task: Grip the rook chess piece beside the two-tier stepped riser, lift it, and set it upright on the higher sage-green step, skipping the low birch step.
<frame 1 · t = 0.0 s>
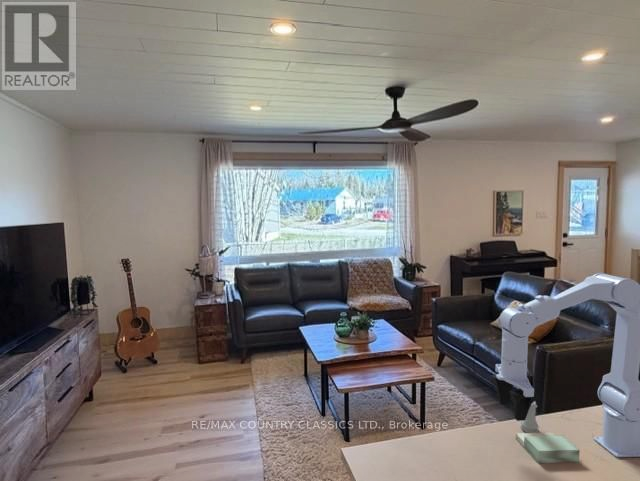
hand: (512, 411, 99), 10 cm above the kitchen island, tool pointing down, fingers open, 7 cm apart
rook chess piece: (529, 430, 110), on the kitchen island
stepped riser: (545, 449, 101), on the kitchen island
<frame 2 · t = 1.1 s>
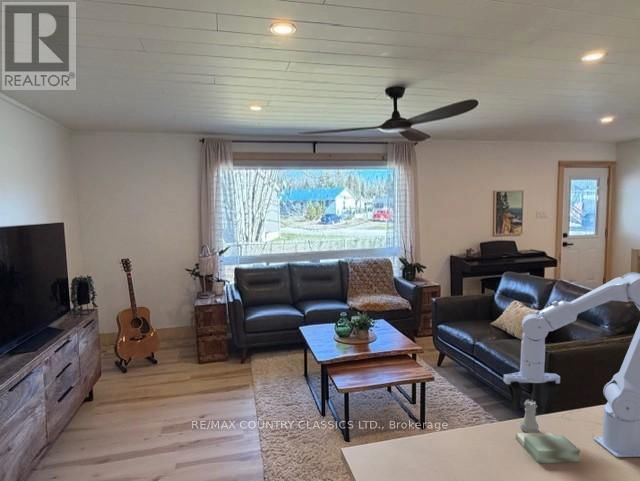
hand: (530, 408, 109), 6 cm above the kitchen island, tool pointing down, fingers open, 7 cm apart
nothing on the kitchen island moved.
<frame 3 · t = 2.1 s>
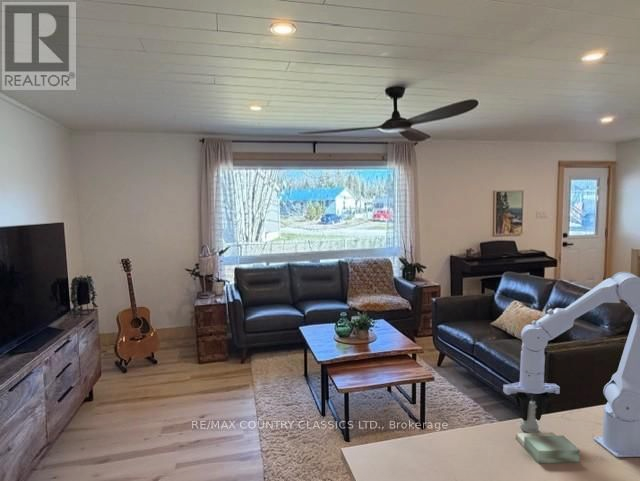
hand: (530, 418, 109), 3 cm above the kitchen island, tool pointing down, fingers closed on rook chess piece, 3 cm apart
rook chess piece: (529, 430, 110), on the kitchen island, touching gripper
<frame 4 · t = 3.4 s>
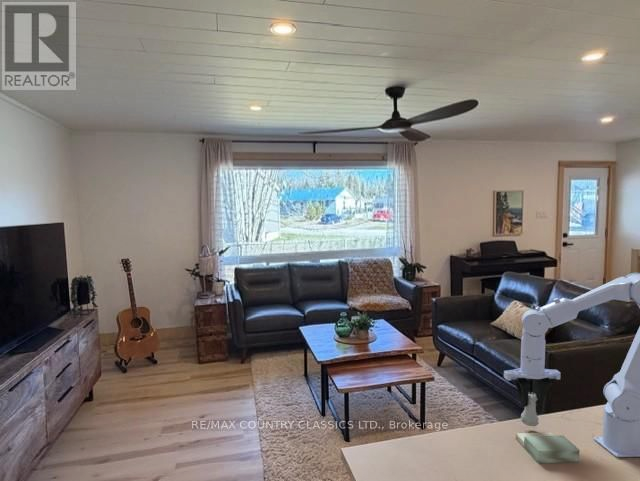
hand: (530, 404, 109), 7 cm above the kitchen island, tool pointing down, fingers closed on rook chess piece, 3 cm apart
rook chess piece: (529, 423, 109), point 2 cm above the kitchen island, touching gripper
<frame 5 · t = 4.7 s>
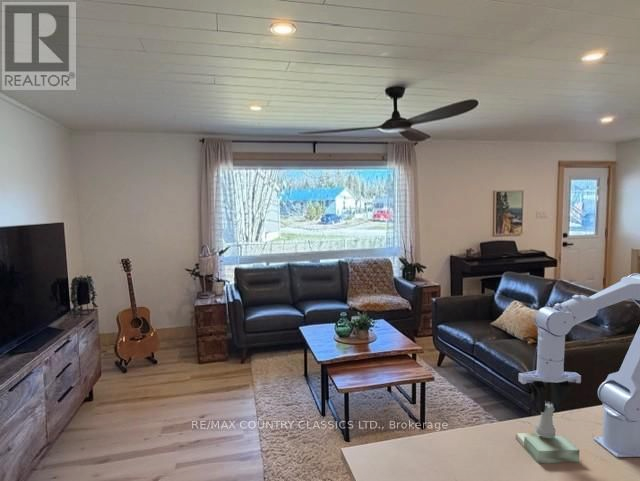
hand: (548, 410, 100), 10 cm above the kitchen island, tool pointing down, fingers closed on rook chess piece, 3 cm apart
rook chess piece: (545, 434, 101), point 4 cm above the kitchen island, touching gripper
when the fingers open (7 cm above the kitchen island, at t = 6.0 s): rook chess piece stays where it is, resting on stepped riser.
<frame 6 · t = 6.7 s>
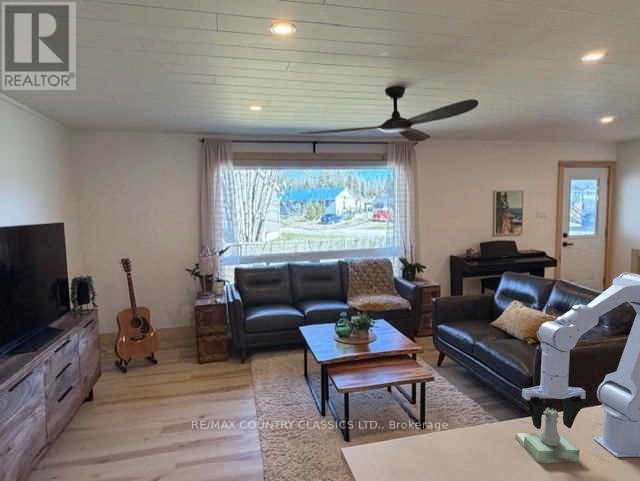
hand: (552, 426, 98), 7 cm above the kitchen island, tool pointing down, fingers open, 7 cm apart
rook chess piece: (549, 442, 99), point 3 cm above the kitchen island, touching stepped riser
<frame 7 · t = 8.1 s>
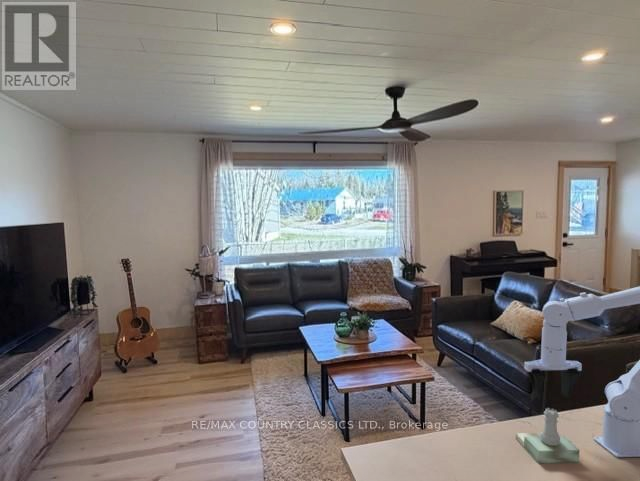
hand: (551, 396, 108), 10 cm above the kitchen island, tool pointing down, fingers open, 7 cm apart
nothing on the kitchen island moved.
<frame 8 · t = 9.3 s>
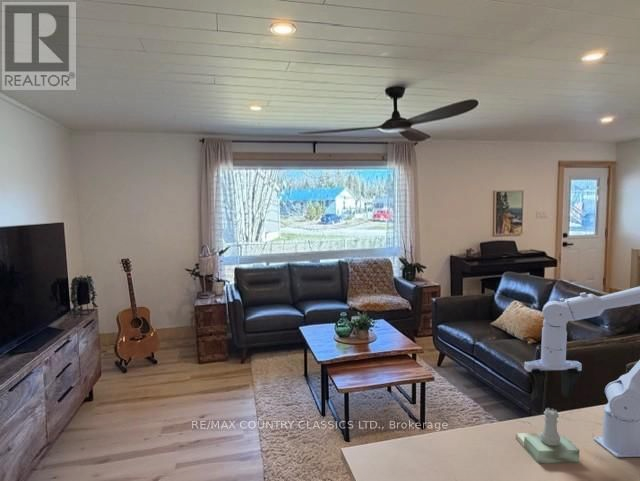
hand: (551, 396, 108), 10 cm above the kitchen island, tool pointing down, fingers open, 7 cm apart
nothing on the kitchen island moved.
at the end: rook chess piece 0.6 cm from the target spot, point 2.8 cm above the kitchen island; rook chess piece tilted 0°; the gripper is holding nothing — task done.
